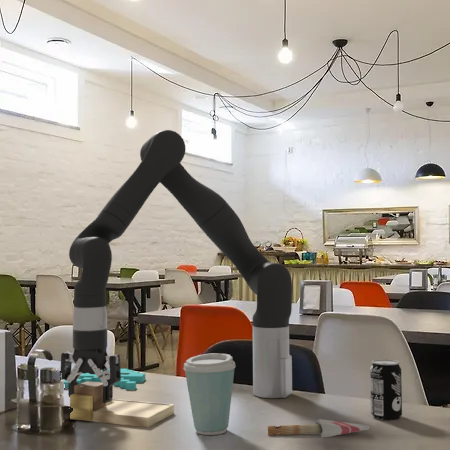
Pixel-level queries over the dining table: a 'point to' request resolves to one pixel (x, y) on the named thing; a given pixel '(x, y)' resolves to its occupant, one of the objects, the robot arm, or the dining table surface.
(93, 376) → the alien figure
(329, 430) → the paintbrush
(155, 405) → the board
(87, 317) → the robot arm
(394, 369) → the beverage can
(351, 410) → the dining table surface
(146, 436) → the dining table surface
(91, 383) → the brown block with handle
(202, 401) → the disposable coffee cup
